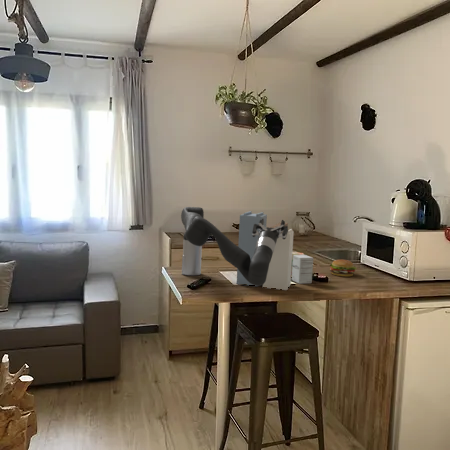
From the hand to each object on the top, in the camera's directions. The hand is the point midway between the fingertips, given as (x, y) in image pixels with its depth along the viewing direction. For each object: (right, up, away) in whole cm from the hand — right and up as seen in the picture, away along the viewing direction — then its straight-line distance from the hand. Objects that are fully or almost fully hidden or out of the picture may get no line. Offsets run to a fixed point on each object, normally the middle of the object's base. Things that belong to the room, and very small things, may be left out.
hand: (272, 220), depth 203 cm
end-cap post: (+3, -30, +17) cm, 35 cm away
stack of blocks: (+8, -28, +41) cm, 50 cm away
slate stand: (-8, -29, +22) cm, 37 cm away
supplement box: (+17, -30, +29) cm, 44 cm away
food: (+42, -28, +50) cm, 71 cm away
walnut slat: (+4, -5, +12) cm, 14 cm away
